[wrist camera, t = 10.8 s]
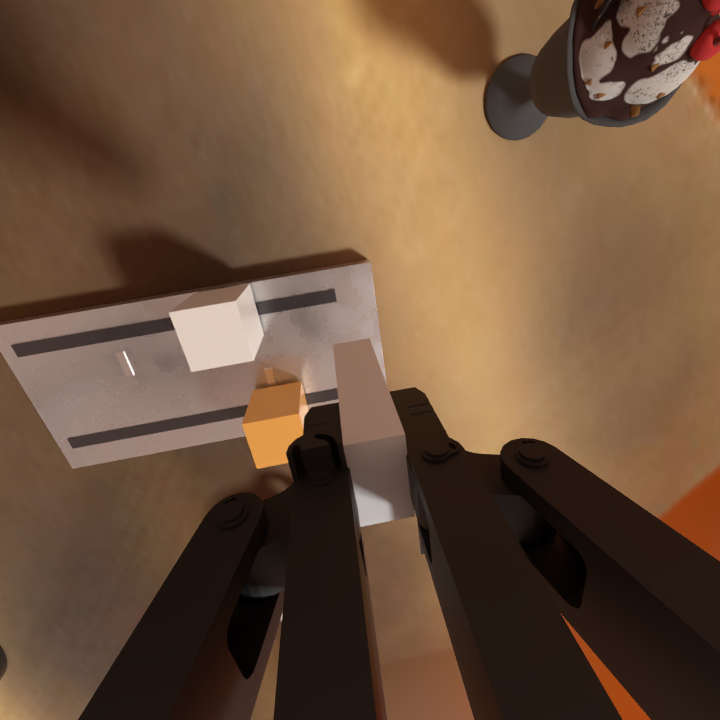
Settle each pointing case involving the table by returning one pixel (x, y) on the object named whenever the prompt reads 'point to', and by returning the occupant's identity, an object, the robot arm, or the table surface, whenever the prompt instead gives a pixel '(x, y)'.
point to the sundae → (605, 65)
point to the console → (182, 363)
